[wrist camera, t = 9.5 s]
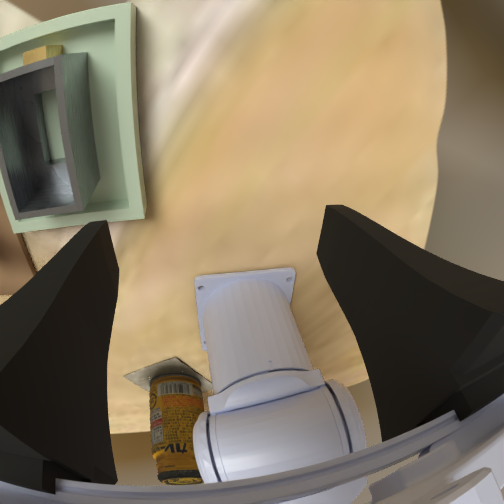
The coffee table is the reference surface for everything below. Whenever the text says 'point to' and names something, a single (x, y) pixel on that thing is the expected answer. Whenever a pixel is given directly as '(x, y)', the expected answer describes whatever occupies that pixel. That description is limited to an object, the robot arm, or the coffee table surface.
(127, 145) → the tray
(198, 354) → the coffee table surface
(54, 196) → the grey open box
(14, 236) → the tan rectangular block
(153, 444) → the condiment
